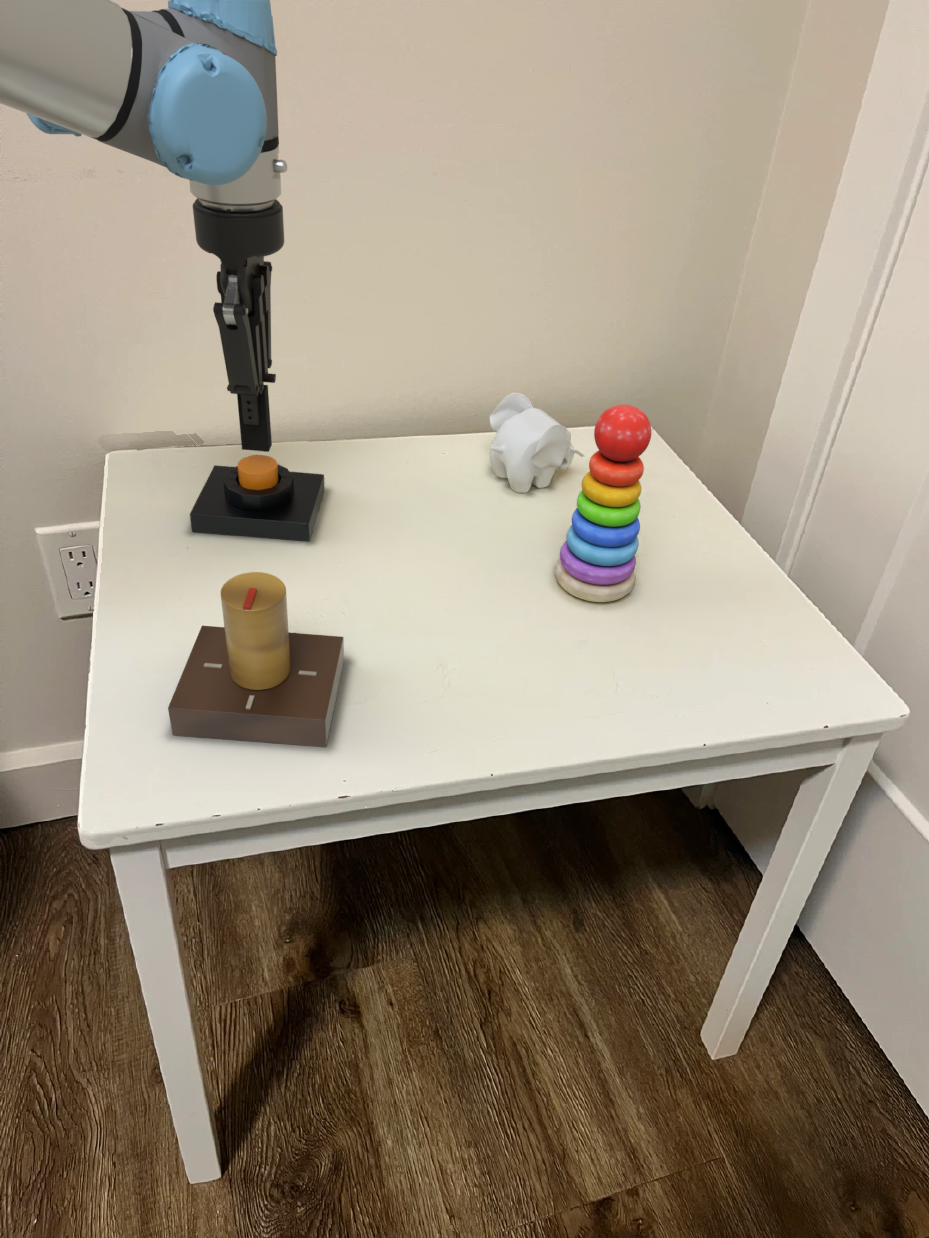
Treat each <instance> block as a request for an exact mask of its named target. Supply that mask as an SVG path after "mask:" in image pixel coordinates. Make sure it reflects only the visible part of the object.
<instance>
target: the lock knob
mask: <svg viewBox="0 0 929 1238" xmlns="http://www.w3.org/2000/svg"><path fill="white" fill-rule="evenodd" d="M220 603H221V608H222V619H223V627H224V628H225V636H226V645H227V654H228V662H229V671H230V676H231V678H232V680H233V681H234V682H235V683H236V684H238V685H239V686H241V687H243V688H246V689H251V690H264V689H269V688H272V687H275V686H277V685H279V684H281V683H282V682H283V681H284V680H285V679H286V678H287V677H288V675H289V673H290V670H291V664H290V647H289V617H288V599H287V587H286V585H285V583H284V582H283V581H282V580H281V579H280V578H279V577H278V576H276V575H273V574H271V573H267V572H261V571H256V572H255V571H252V572H251V571H250V572H244V573H241V574H238V575H235V576H233V577H231V578H229V579H228V580H227V581H226V582H224V584H223V585H222V587H221V589H220Z"/></svg>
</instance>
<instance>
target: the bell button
mask: <svg viewBox="0 0 929 1238" xmlns="http://www.w3.org/2000/svg"><path fill="white" fill-rule="evenodd" d="M277 464H278V462H277V460H276V459H275V458H273V457H272V456H270V455H265V454H251V455H247V456H245V457H242V458H241V459H240V460H238V462H237V466H238V477H239V484H240V485H241V486H242V487H244V488H246V489H252V490H262V489H268V488H272V487H273V486H275V485H277V483H278V466H277Z"/></svg>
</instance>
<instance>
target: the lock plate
mask: <svg viewBox="0 0 929 1238" xmlns="http://www.w3.org/2000/svg"><path fill="white" fill-rule="evenodd" d="M344 644H345V641H344V636H338V635H327V634H313V633H303V632H302V633H301V632H289V647H290V664H291V670H290V673H289V675H288V677H287V678H286V679H285V680H284V681H283V682H282V683H281V684H279V685H277V686H275V687H272V688H269V689H264V690H251V689H246V688H243V687H241V686H239V685H238V684H236V683H235V682H234V681H233V680H232V678H231V676H230V671H229V662H228V654H227V645H226V636H225V628H224V626H212V625H201V627H200V629H199V632H198V634H197V637H196V639H195V641H194V644H193V646H192V648H191V651H190V653H189V656H188V658H187V661H186V663H185V666H184V668H183V670H182V672H181V675H180V678H179V680H178V683H177V685H176V687H175V690H174V692H173V694H172V697H171V700H170V702H169V704H168V706H167V710H168V715H169V722H170V727H171V731H172V736H178V737H190V738H202V739H203V738H204V739H216V740H217V739H218V740H228V741H229V740H230V741H243V742H256V743H268V744H281V745H291V746H292V745H293V746H306V747H309V746H310V747H319V748H327V745H328V740H329V735H330V730H331V725H332V722H333V721H332V720H333V716H334V711H335V707H336V702H337V697H338V693H339V687H340V682H341V678H342V673H343V669H344V664H345V655H344V654H345V653H344V651H345V648H344V646H345V645H344Z"/></svg>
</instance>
